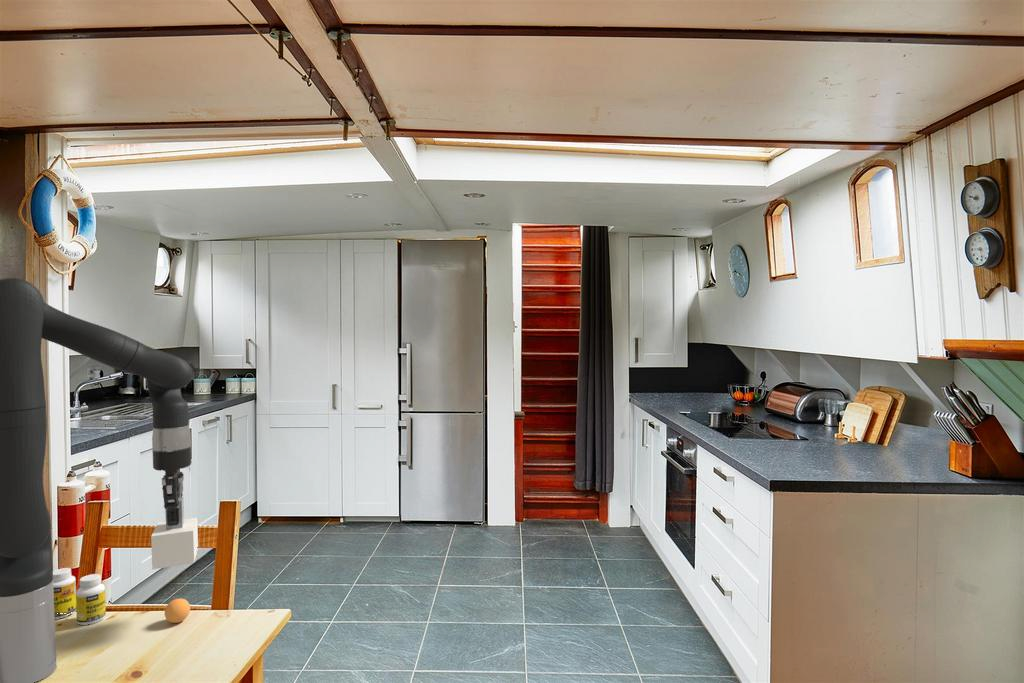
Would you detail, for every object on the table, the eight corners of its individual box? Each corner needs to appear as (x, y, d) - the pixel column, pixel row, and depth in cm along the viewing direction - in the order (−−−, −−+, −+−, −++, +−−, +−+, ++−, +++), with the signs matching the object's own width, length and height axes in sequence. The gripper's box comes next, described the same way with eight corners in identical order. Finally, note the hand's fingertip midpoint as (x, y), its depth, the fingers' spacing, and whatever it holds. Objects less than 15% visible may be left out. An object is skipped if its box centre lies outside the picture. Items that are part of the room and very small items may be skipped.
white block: (152, 569, 129) (150, 508, 128) (159, 553, 138) (157, 496, 138) (194, 562, 132) (192, 503, 131) (198, 547, 141) (196, 492, 141)
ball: (167, 598, 136) (166, 622, 135) (163, 602, 131) (162, 627, 130) (191, 595, 138) (191, 618, 137) (188, 598, 133) (188, 622, 132)
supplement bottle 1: (45, 623, 134) (43, 578, 134) (47, 613, 139) (46, 570, 139) (76, 616, 137) (74, 572, 137) (77, 606, 142) (75, 564, 142)
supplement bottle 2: (85, 628, 132) (84, 584, 132) (71, 623, 134) (69, 579, 134) (111, 616, 137) (109, 574, 136) (97, 612, 139) (95, 570, 139)
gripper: (157, 442, 139) (159, 515, 140) (147, 454, 126) (150, 535, 127) (193, 439, 142) (196, 511, 143) (187, 450, 129) (190, 529, 130)
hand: (174, 522), depth 135 cm, fingers closed on white block, 3 cm apart
